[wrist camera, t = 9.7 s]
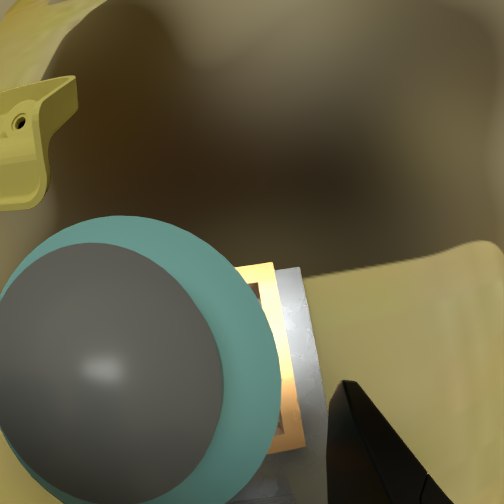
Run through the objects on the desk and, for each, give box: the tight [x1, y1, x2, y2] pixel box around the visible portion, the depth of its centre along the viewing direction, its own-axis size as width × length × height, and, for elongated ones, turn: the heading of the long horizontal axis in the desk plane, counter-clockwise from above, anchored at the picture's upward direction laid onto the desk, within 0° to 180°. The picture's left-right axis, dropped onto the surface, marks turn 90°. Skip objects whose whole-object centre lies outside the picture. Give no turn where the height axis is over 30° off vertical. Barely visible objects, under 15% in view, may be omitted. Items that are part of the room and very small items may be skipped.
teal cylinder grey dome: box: [0, 216, 282, 504], centre depth 9 cm, size 5×5×12 cm
